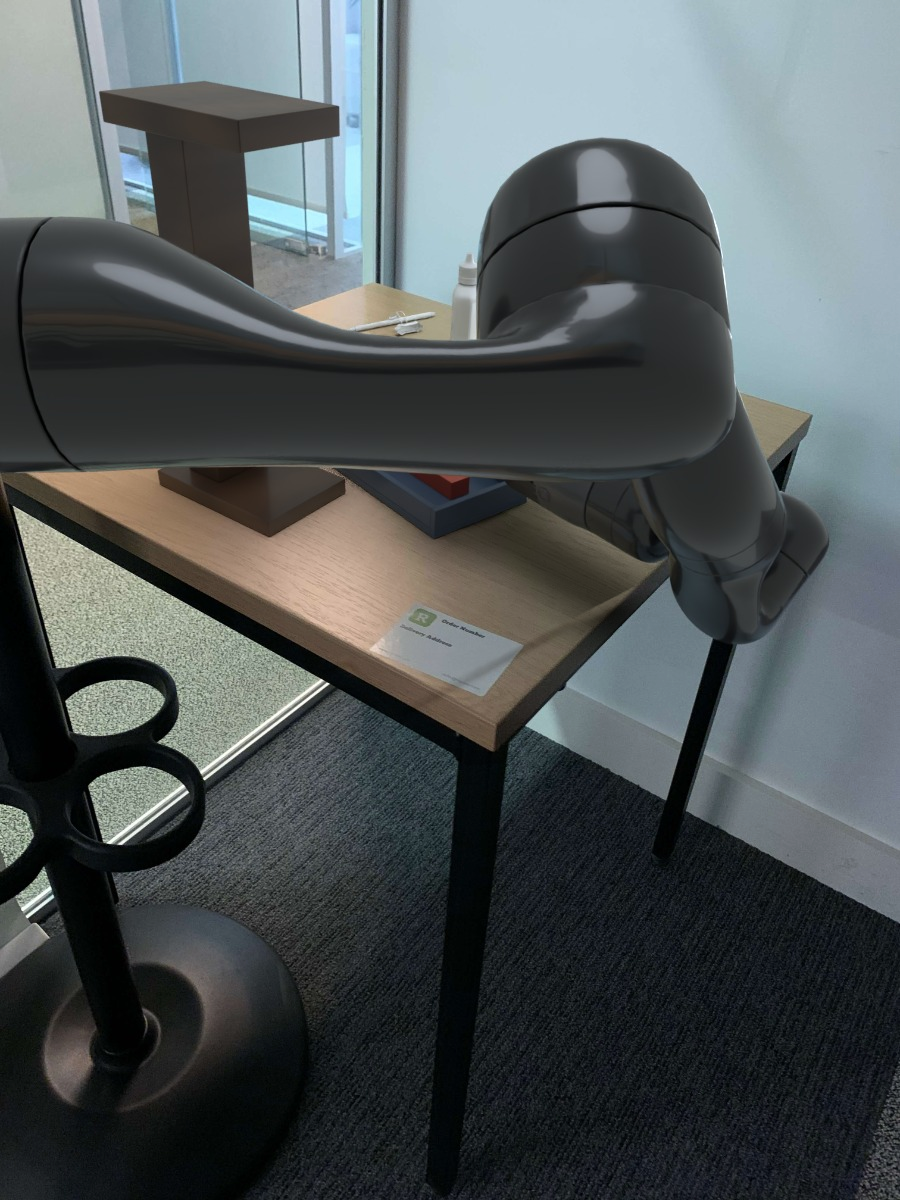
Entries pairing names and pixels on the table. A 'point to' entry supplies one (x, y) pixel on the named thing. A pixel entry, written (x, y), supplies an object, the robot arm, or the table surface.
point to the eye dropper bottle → (464, 302)
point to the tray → (436, 499)
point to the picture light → (401, 327)
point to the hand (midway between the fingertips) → (441, 395)
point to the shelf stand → (224, 245)
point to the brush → (446, 484)
